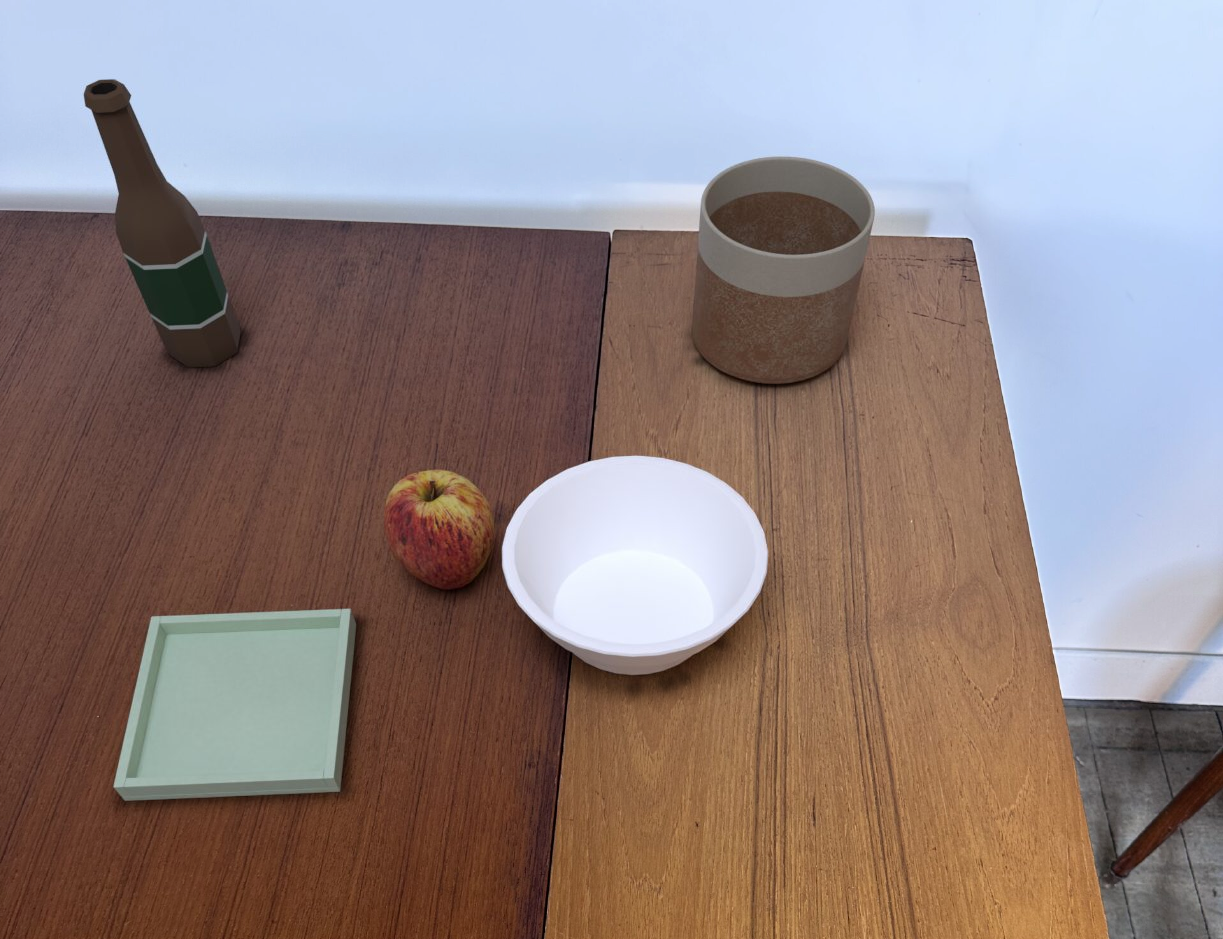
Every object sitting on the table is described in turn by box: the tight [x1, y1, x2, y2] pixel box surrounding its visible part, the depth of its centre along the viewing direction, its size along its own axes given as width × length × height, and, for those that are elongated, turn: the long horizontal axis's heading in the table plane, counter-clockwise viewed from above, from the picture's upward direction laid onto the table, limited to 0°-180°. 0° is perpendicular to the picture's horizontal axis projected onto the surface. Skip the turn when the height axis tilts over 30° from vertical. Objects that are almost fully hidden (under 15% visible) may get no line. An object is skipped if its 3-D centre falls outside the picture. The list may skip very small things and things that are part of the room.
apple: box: [383, 469, 496, 591], centre depth 85 cm, size 9×9×10 cm
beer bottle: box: [83, 78, 242, 369], centre depth 94 cm, size 8×8×24 cm
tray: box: [113, 608, 357, 802], centre depth 81 cm, size 17×17×2 cm
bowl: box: [501, 455, 769, 676], centre depth 83 cm, size 21×21×8 cm
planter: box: [691, 156, 876, 385], centre depth 98 cm, size 16×16×14 cm
